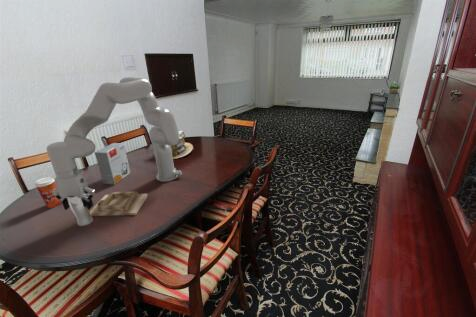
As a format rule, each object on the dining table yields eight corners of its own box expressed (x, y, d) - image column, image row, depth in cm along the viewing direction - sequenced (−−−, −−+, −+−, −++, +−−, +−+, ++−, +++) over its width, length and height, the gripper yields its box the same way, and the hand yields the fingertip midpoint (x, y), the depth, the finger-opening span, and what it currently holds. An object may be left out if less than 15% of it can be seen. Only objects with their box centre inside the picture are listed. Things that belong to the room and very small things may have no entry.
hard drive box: (114, 185, 134) (105, 153, 126) (103, 184, 136) (93, 152, 127) (131, 172, 148) (124, 143, 140) (120, 171, 150) (112, 142, 141)
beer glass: (81, 217, 108) (71, 189, 102) (97, 216, 109) (87, 188, 103) (73, 227, 102) (61, 198, 96) (89, 226, 103) (79, 197, 96)
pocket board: (147, 195, 124) (146, 189, 122) (135, 214, 109) (134, 208, 108) (105, 196, 124) (104, 190, 122) (88, 216, 109) (86, 209, 108)
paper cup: (48, 211, 113) (37, 186, 108) (41, 206, 117) (30, 181, 111) (66, 202, 119) (57, 178, 114) (59, 198, 123) (49, 174, 117)
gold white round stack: (172, 162, 161) (169, 139, 154) (152, 153, 175) (148, 132, 168) (200, 151, 178) (197, 130, 171) (179, 144, 192) (177, 124, 185)
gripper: (93, 168, 98) (103, 202, 105) (52, 168, 99) (65, 203, 105) (83, 176, 92) (94, 212, 98) (38, 177, 92) (53, 213, 98)
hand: (79, 207), depth 102 cm, fingers open, 9 cm apart
